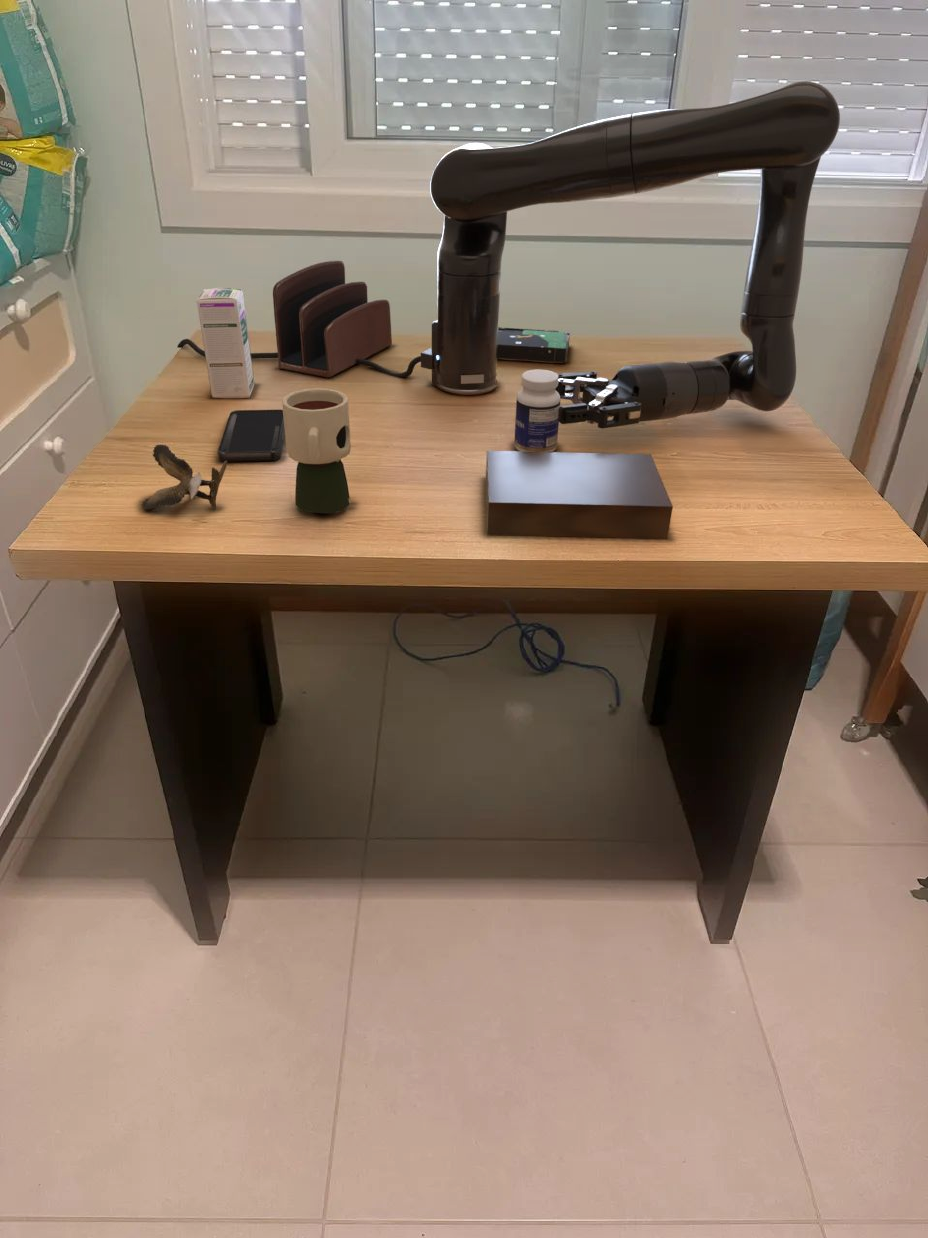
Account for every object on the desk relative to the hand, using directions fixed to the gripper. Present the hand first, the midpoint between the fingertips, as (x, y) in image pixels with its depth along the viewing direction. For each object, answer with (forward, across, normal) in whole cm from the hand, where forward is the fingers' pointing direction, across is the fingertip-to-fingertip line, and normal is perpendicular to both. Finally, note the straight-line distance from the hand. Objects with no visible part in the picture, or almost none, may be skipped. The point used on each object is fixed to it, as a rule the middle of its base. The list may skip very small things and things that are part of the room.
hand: (545, 403), depth 115 cm
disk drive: (-14, -38, +6) cm, 41 cm away
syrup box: (+36, -33, +6) cm, 50 cm away
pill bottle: (+1, 0, +6) cm, 6 cm away
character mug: (+32, +9, +6) cm, 33 cm away
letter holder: (+18, -45, +6) cm, 49 cm away
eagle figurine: (+47, +3, +6) cm, 47 cm away
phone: (+36, -14, +6) cm, 39 cm away
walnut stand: (+4, +18, +6) cm, 19 cm away
